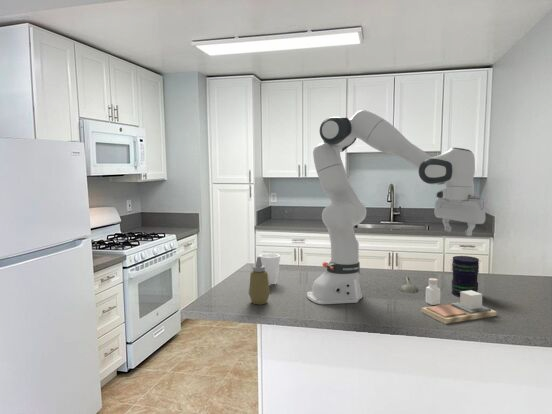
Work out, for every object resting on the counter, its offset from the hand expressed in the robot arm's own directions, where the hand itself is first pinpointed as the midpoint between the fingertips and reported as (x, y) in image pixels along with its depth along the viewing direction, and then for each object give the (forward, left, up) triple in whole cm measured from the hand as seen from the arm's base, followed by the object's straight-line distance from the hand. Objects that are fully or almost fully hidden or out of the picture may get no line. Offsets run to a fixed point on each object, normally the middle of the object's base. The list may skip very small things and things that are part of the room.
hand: (457, 233), depth 142 cm
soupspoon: (+5, +33, -29) cm, 45 cm away
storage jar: (+18, +15, -29) cm, 37 cm away
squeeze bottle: (-64, +34, -29) cm, 78 cm away
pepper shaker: (-2, +10, -29) cm, 30 cm away
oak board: (-1, -2, -29) cm, 29 cm away
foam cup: (-52, +58, -29) cm, 83 cm away
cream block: (+5, -2, -27) cm, 27 cm away
